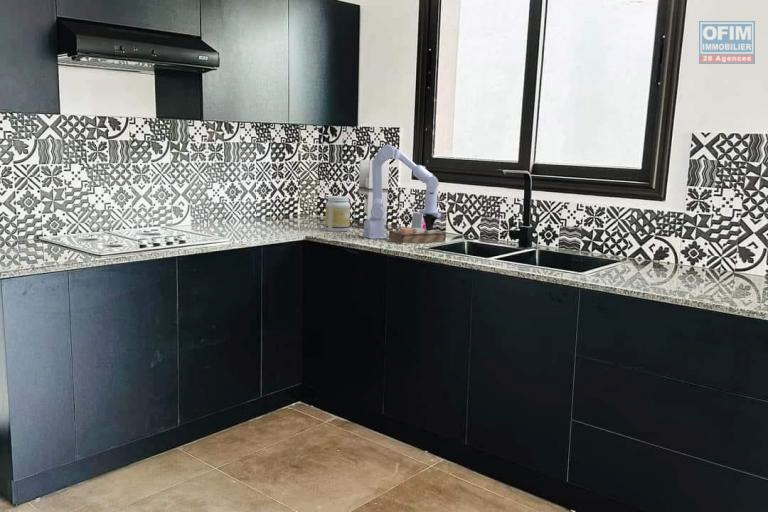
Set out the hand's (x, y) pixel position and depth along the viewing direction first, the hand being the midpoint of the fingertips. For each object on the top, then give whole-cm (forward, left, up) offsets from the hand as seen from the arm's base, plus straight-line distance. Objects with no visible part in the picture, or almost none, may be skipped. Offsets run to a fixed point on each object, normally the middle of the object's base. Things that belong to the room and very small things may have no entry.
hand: (429, 230), depth 327 cm
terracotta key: (-13, 0, -2) cm, 13 cm away
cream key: (-6, 0, -2) cm, 7 cm away
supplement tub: (-29, +39, -5) cm, 49 cm away
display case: (-6, +44, -5) cm, 45 cm away
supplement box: (+5, +16, -5) cm, 18 cm away
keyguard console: (-7, 0, -5) cm, 8 cm away
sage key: (0, 0, -3) cm, 3 cm away
